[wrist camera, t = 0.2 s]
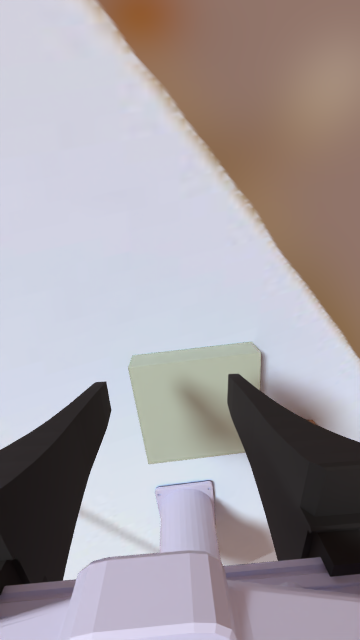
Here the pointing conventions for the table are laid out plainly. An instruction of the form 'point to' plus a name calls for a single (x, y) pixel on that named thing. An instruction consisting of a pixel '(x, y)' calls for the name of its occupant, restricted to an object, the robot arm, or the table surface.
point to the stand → (190, 399)
